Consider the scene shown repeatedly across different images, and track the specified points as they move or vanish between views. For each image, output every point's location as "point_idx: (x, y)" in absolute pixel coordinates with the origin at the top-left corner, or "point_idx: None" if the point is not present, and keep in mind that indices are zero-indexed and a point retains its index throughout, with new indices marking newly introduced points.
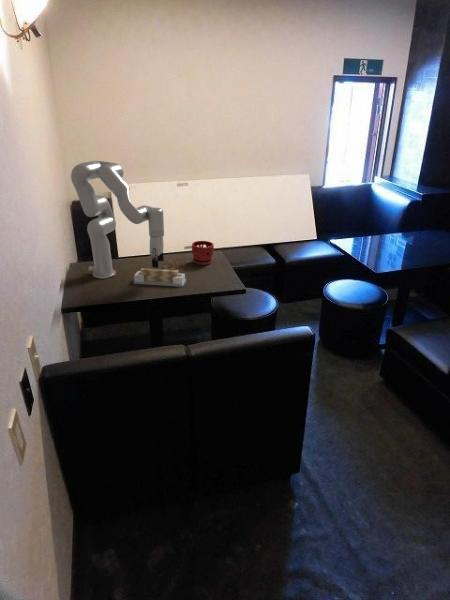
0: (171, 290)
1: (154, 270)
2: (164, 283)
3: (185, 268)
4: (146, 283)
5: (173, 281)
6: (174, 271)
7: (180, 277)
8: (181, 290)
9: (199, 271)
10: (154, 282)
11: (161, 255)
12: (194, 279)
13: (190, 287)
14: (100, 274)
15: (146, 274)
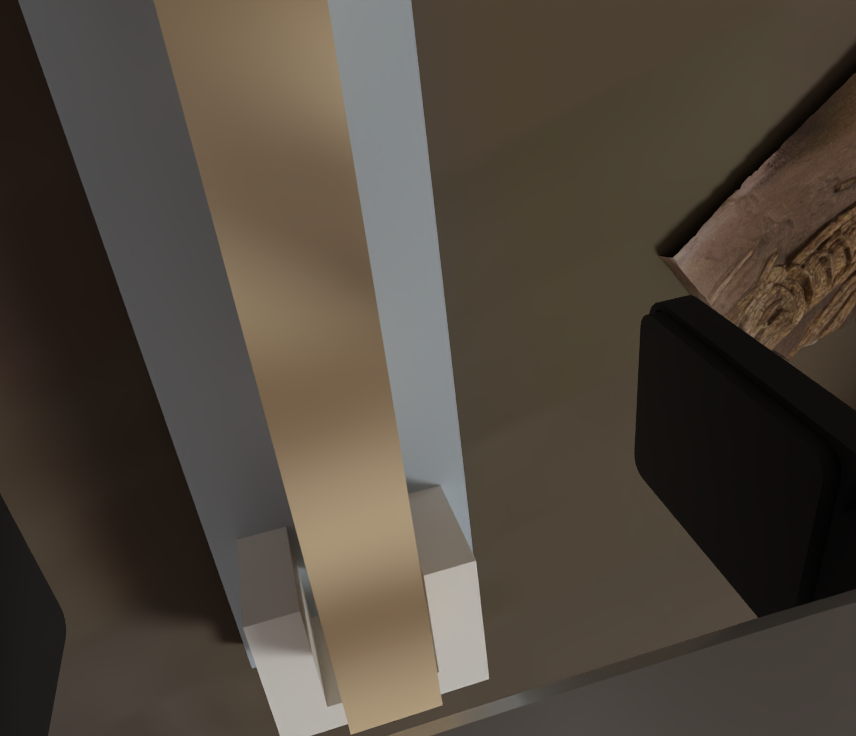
0: None
1: (239, 278)
2: (182, 418)
3: None
4: (30, 24)
5: (242, 577)
6: (357, 688)
7: (303, 714)
8: (112, 692)
9: None
10: (139, 211)
11: (763, 580)
12: (544, 630)
13: (268, 720)
14: None
15: None
